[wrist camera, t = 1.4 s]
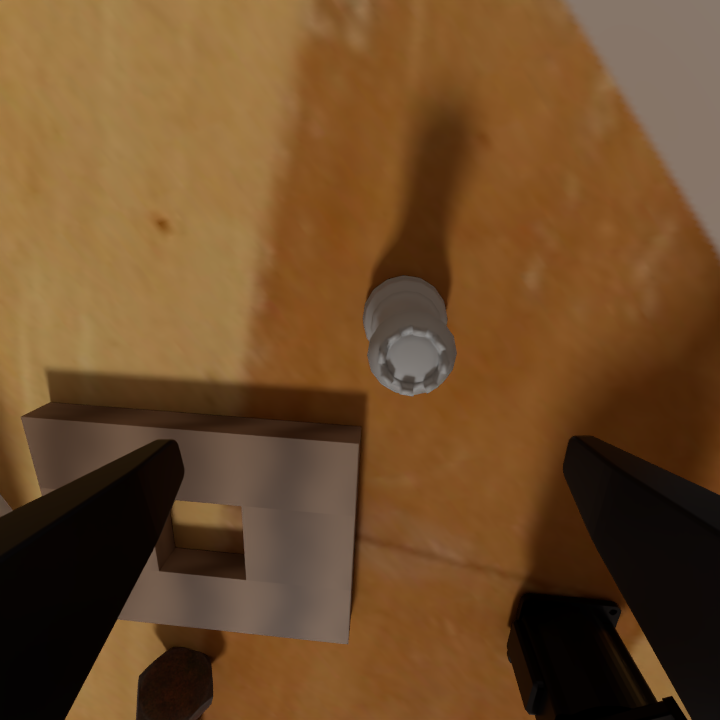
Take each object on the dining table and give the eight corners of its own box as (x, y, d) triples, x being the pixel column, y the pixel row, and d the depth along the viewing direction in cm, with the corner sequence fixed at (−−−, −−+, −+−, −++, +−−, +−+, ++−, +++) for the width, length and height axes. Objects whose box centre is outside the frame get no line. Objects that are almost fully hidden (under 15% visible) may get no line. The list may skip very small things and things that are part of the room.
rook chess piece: (457, 335, 21) (497, 393, 13) (383, 366, 21) (380, 437, 14) (426, 260, 19) (451, 275, 12) (349, 295, 20) (327, 331, 13)
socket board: (361, 426, 23) (358, 443, 21) (350, 616, 28) (348, 644, 26) (50, 402, 24) (20, 416, 22) (94, 589, 29) (74, 614, 27)
